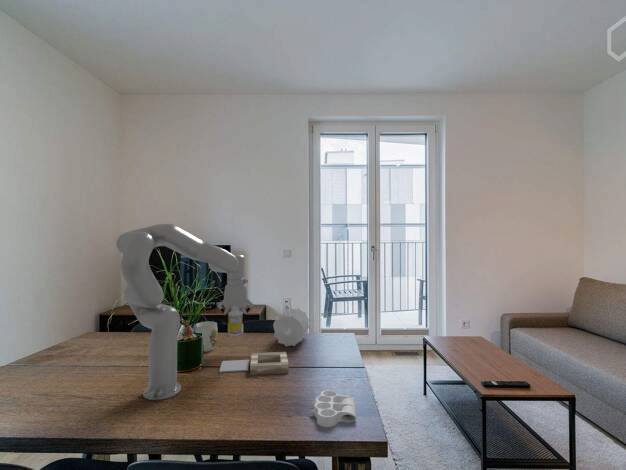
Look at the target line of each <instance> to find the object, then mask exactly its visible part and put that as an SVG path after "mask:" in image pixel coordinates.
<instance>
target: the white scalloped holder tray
mask: <svg viewBox="0 0 626 470" xmlns="http://www.w3.org/2000/svg"><path fill="white" fill-rule="evenodd" d="M319 393H320V395H318V396H316V398H315V399H314V401H312V402H311V404H313V409H311V410H309V412H310V413H312V414H313V416H314V417H315V418H316V423H317V425H318V426H320V427H324V428H331V427H334V426H337V425H338V424H339V423H350V424H351V423H354V422H355V421H356V420H357V413H356V412H357V411H356V399H355V398H354V397H352V396H350V395H343V394H338V392H336V391H334V390H329V389H328V390H323V391H321V392H319Z"/></svg>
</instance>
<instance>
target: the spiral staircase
mask: <svg viewBox="0 0 626 470" xmlns="http://www.w3.org/2000/svg"><path fill="white" fill-rule="evenodd" d="M309 324H310V318H309V317H308V316H307V312H305V311H303V310H300V308H293V307H290V308H289V309H287V310H286V311H285V310H283V312H282V313H279V317H276V318H275V320H274V322H273V324H272V325H273V331H274V334H273V336H274V337H275V338H276V339H277V340H278V341H277V343H278V344H282V345H284V346H285V347H289V346H290V347H291V346H293V347H295V346H296V345H297V344H299V343H302V341H303V339H304V337H306V334H307V332H308V330H309V328H310V325H309Z"/></svg>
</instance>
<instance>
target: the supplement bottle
mask: <svg viewBox="0 0 626 470" xmlns="http://www.w3.org/2000/svg"><path fill="white" fill-rule="evenodd" d="M241 309H242V308H238V306H233V308H231V309H230V310H228V323H227V335H229V336H231V337H238V336H242V335H243V333H244V323H243V310H241Z"/></svg>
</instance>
